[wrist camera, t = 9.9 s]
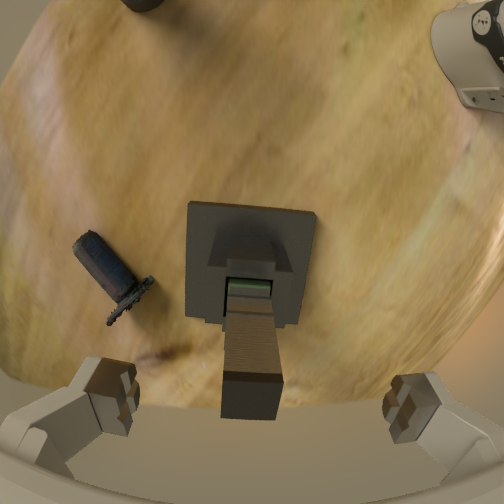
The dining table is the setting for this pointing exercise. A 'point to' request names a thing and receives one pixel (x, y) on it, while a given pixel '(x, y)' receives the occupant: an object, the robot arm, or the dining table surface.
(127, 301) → the dark flanged cylinder
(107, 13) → the dining table surface
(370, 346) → the dining table surface
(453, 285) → the dining table surface
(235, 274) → the stand
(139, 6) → the candle holder
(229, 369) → the column
